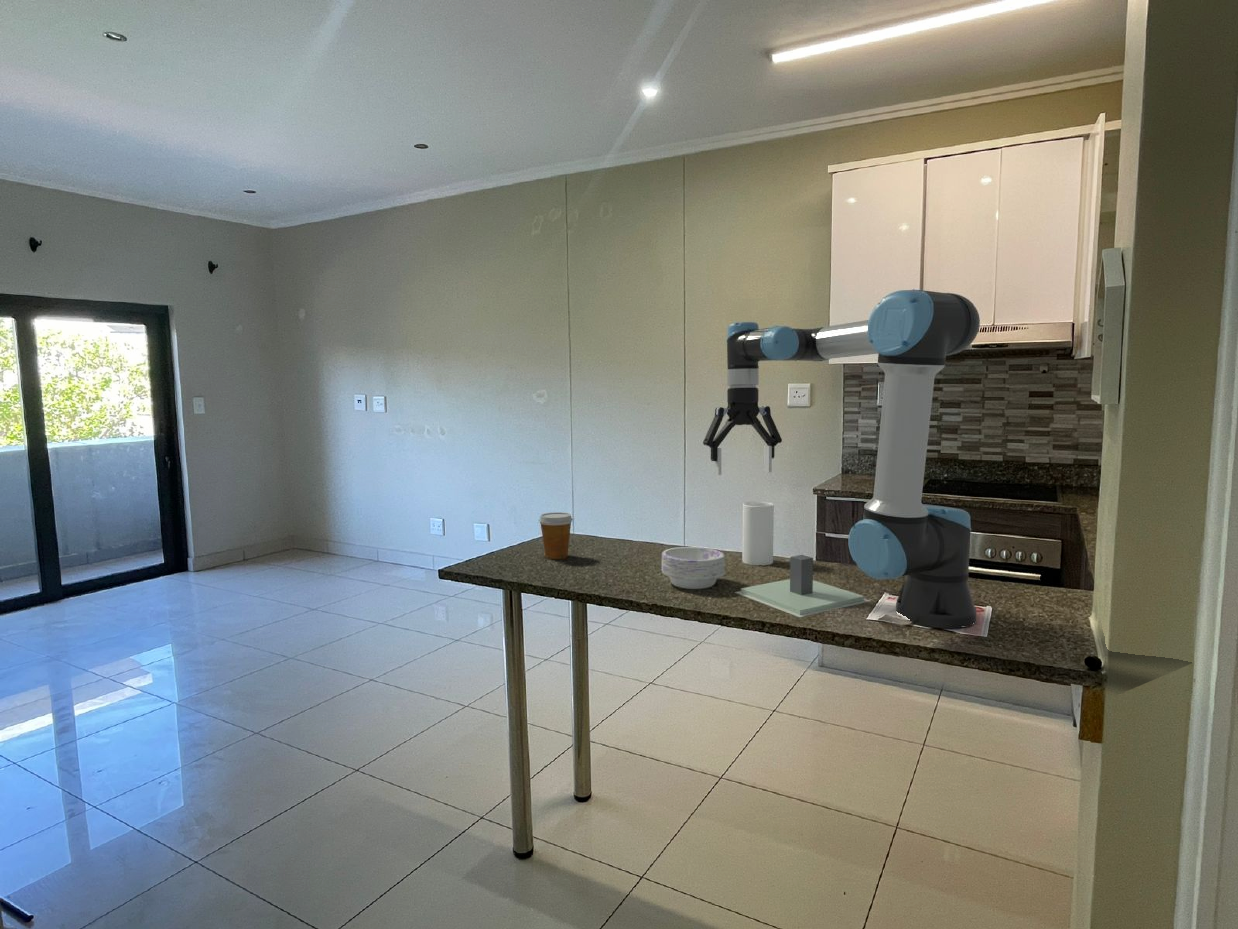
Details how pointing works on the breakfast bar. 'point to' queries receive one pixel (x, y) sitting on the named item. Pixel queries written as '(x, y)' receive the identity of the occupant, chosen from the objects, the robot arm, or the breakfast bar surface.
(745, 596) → the mat
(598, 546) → the breakfast bar surface
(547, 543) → the disposable coffee cup
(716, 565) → the paper bowls
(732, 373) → the robot arm
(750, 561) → the cup
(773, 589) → the cover
